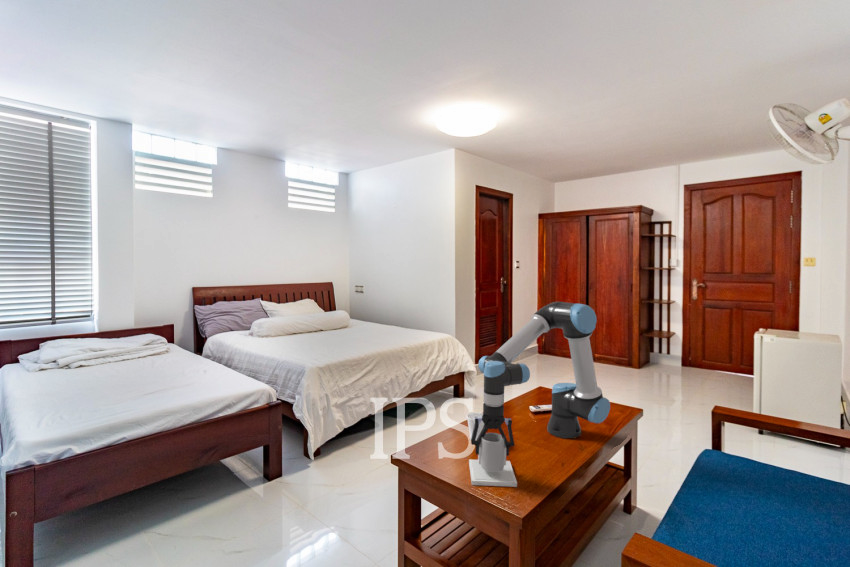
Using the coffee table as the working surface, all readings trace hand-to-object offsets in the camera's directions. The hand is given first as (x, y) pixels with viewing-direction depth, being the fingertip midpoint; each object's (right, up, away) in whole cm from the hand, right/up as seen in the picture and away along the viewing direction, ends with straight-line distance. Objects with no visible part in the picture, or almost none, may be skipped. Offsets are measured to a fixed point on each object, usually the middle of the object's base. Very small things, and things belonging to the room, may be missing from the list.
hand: (491, 462), depth 152 cm
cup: (-2, -3, +29) cm, 30 cm away
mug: (+1, -1, 0) cm, 1 cm away
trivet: (0, -4, 0) cm, 4 cm away
